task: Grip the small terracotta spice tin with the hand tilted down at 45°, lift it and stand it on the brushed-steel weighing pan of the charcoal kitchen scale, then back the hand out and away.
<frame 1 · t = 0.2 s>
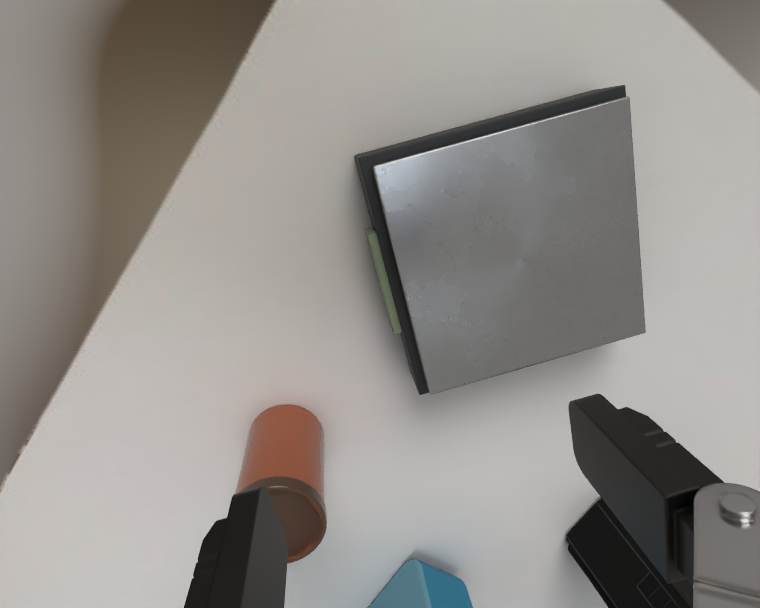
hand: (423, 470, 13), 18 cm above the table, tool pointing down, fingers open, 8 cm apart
scale: (495, 241, 30), on the table
spice tin: (286, 436, 32), on the table
portable radio: (608, 526, 39), on the table
scale pan: (519, 255, 26), point 4 cm above the table, slide at 0.0 cm
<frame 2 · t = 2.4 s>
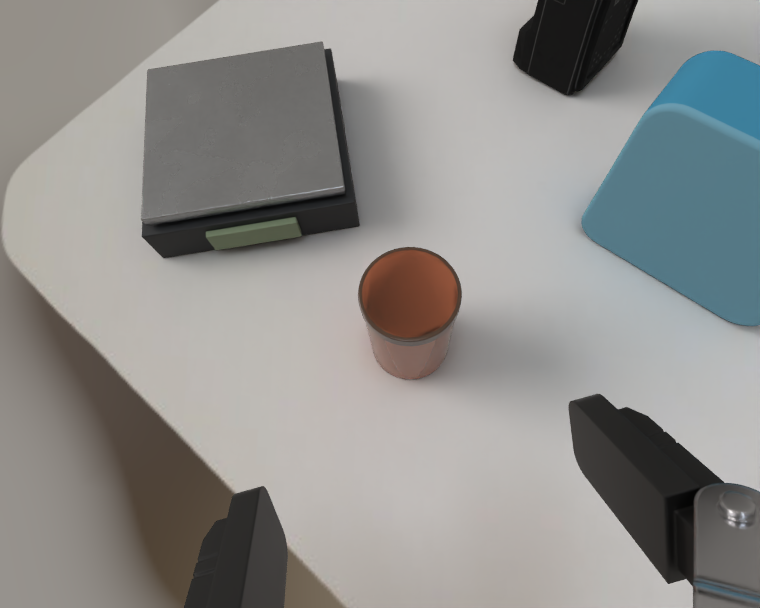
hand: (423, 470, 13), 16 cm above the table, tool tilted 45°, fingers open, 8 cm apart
scale: (256, 162, 37), on the table
spice tin: (409, 342, 31), on the table
portable radio: (561, 64, 39), on the table
scale pan: (240, 127, 34), point 4 cm above the table, slide at 0.0 cm
data package: (670, 256, 32), on the table
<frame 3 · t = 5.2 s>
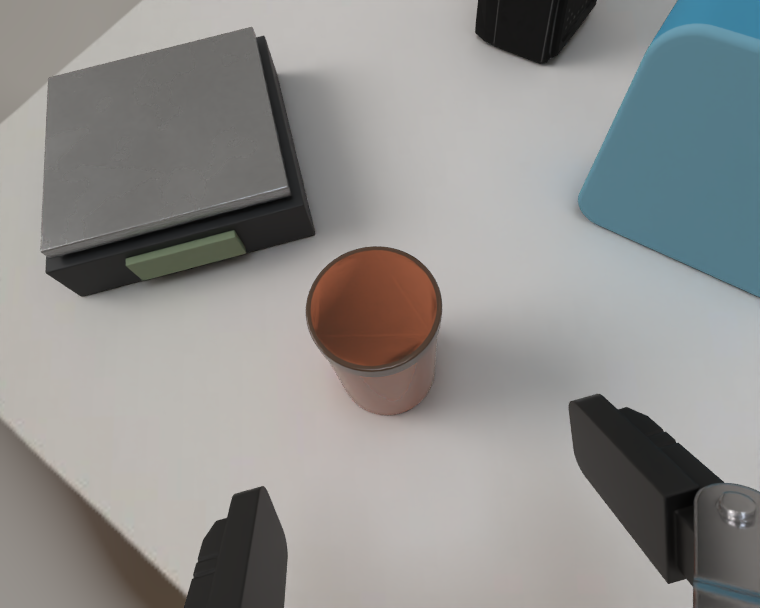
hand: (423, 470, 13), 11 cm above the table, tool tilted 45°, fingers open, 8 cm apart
scale: (188, 174, 31), on the table
spice tin: (387, 368, 25), on the table
portable radio: (530, 31, 35), on the table
scale pan: (160, 132, 28), point 4 cm above the table, slide at 0.0 cm
data package: (687, 232, 27), on the table
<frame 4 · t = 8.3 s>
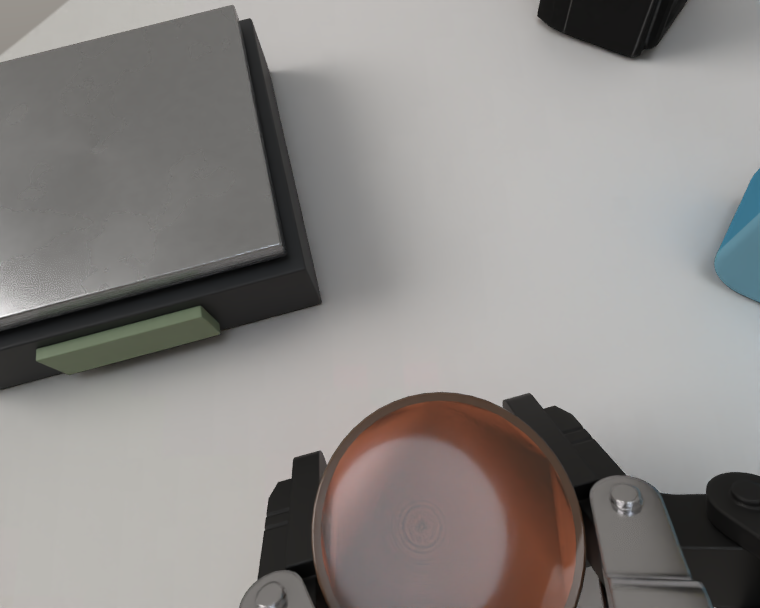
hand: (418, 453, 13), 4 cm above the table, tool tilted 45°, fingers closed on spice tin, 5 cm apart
scale: (145, 210, 23), on the table
spice tin: (434, 526, 16), on the table, touching gripper
portable radio: (611, 15, 26), on the table
scale pan: (96, 155, 19), point 4 cm above the table, slide at 0.0 cm
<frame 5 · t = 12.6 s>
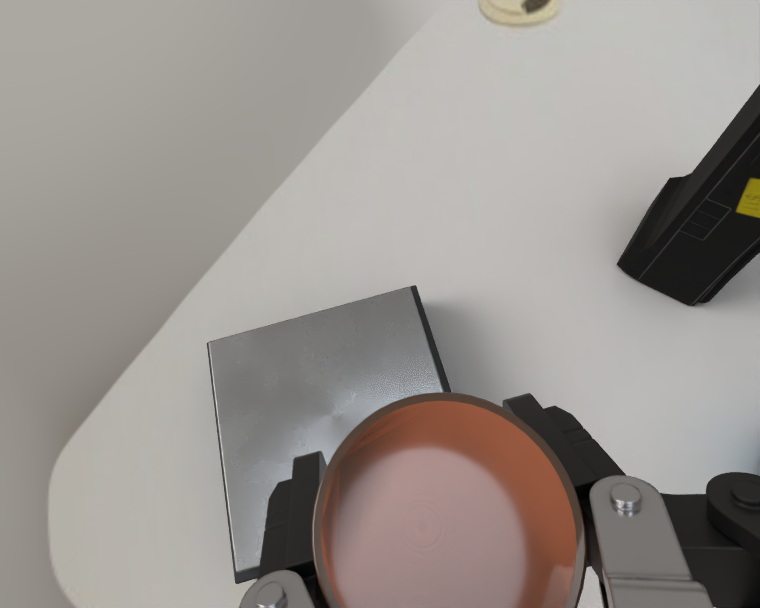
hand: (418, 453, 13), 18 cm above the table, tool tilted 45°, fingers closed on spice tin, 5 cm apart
scale: (342, 427, 32), on the table
spice tin: (435, 526, 16), point 14 cm above the table, touching gripper
portable radio: (671, 260, 34), on the table
scale pan: (333, 416, 28), point 4 cm above the table, slide at 0.0 cm
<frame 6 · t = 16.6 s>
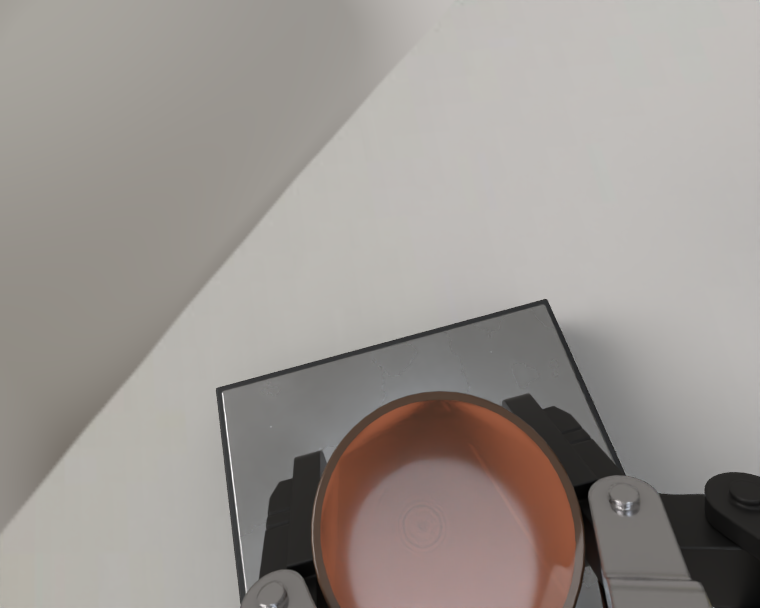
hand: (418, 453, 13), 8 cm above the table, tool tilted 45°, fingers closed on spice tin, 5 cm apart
scale: (431, 525, 20), on the table
spice tin: (434, 525, 16), point 4 cm above the table, touching gripper, scale pan
scale pan: (433, 525, 17), point 3 cm above the table, slide at -0.2 cm, touching spice tin
when the fingers open (8 cm above the table, at t = 16.8 s): spice tin stays where it is, resting on scale pan.
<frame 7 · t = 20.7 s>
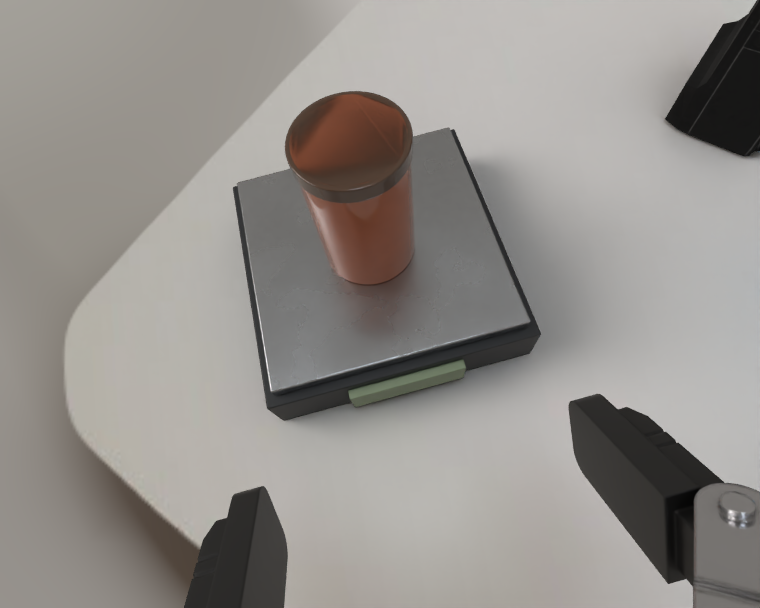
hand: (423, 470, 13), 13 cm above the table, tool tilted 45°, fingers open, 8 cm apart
scale: (376, 277, 30), on the table
spice tin: (370, 245, 26), point 4 cm above the table, touching scale pan
portable radio: (722, 117, 33), on the table
scale pan: (370, 248, 27), point 3 cm above the table, slide at -0.3 cm, touching spice tin
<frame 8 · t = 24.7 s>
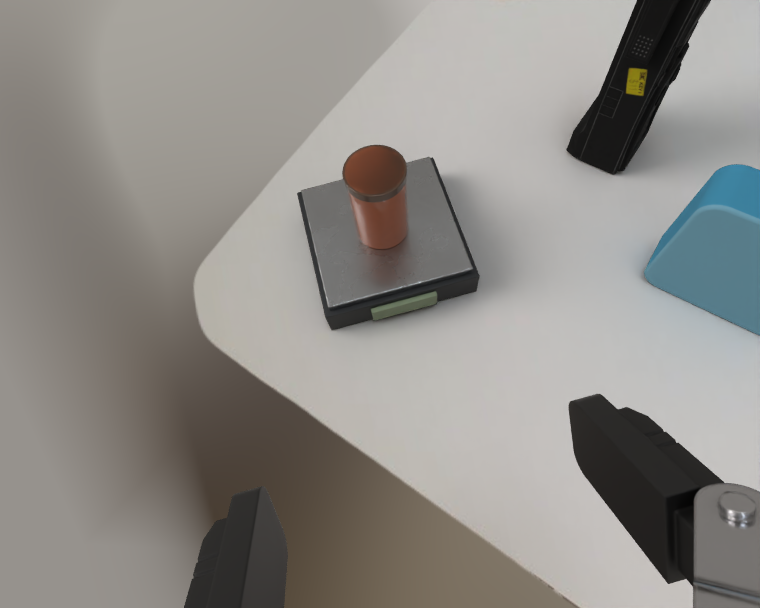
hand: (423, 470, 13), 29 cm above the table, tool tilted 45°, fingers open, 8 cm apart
scale: (385, 248, 49), on the table
spice tin: (382, 227, 45), point 4 cm above the table, touching scale pan
portable radio: (603, 148, 51), on the table
scale pan: (382, 229, 45), point 3 cm above the table, slide at -0.3 cm, touching spice tin
data package: (711, 292, 44), on the table
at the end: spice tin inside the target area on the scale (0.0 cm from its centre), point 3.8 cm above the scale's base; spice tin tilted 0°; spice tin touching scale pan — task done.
